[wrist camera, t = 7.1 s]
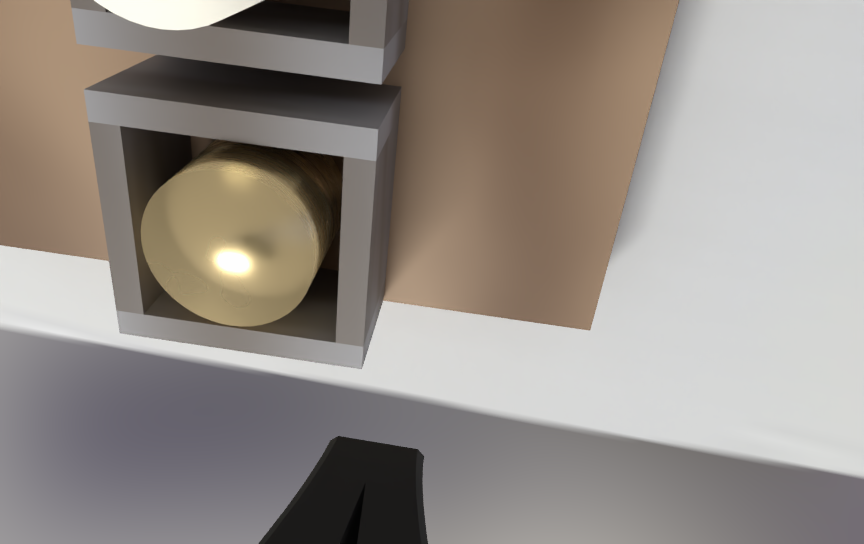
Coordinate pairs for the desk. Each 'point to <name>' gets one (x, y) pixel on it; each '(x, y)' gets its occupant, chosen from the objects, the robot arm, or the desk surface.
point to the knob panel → (343, 148)
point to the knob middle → (176, 11)
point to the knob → (243, 230)
